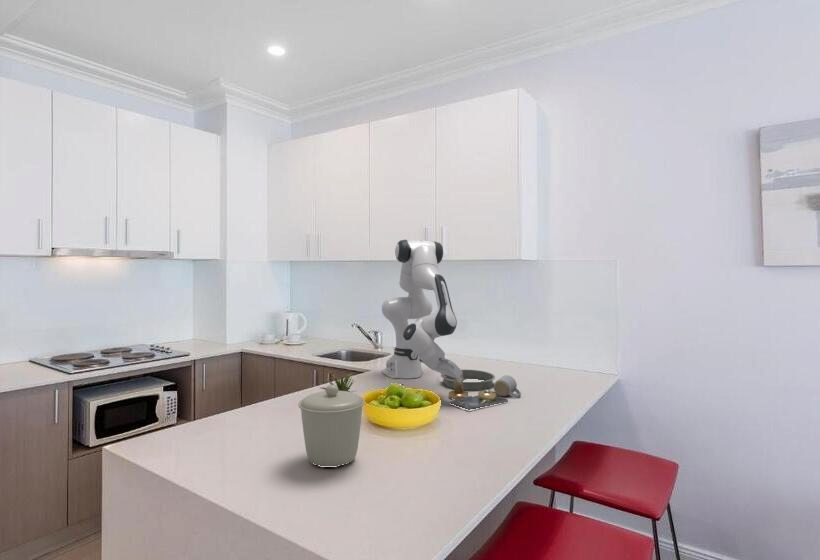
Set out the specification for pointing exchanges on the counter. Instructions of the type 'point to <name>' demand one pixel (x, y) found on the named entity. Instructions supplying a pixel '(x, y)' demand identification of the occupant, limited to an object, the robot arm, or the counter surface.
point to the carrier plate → (479, 400)
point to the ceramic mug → (506, 387)
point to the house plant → (342, 383)
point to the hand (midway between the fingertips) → (453, 378)
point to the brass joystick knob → (458, 389)
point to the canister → (331, 426)
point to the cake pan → (472, 375)
